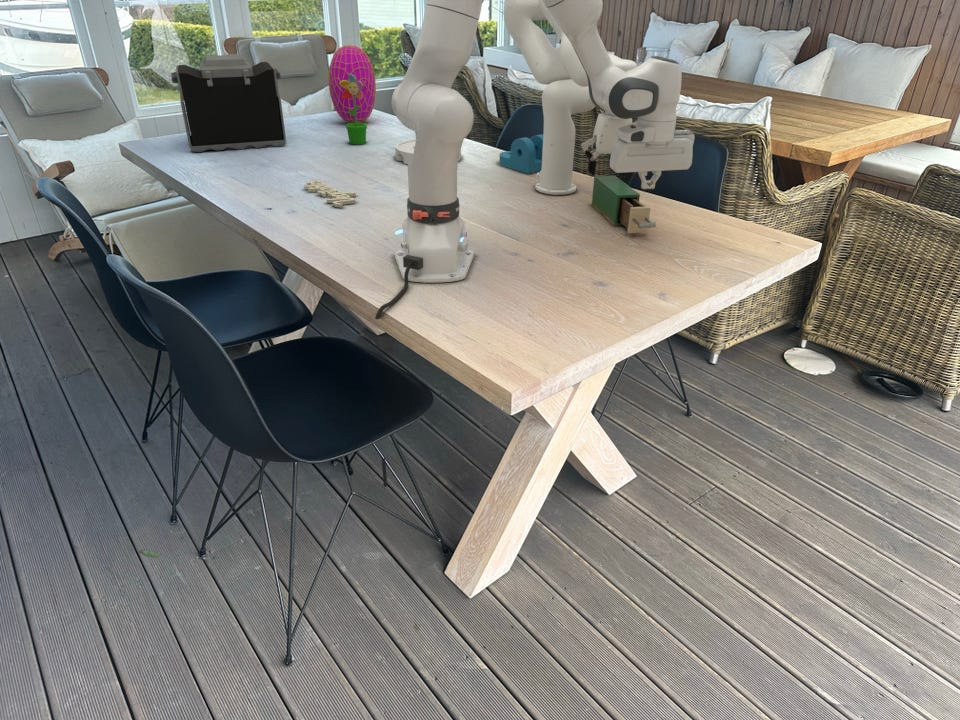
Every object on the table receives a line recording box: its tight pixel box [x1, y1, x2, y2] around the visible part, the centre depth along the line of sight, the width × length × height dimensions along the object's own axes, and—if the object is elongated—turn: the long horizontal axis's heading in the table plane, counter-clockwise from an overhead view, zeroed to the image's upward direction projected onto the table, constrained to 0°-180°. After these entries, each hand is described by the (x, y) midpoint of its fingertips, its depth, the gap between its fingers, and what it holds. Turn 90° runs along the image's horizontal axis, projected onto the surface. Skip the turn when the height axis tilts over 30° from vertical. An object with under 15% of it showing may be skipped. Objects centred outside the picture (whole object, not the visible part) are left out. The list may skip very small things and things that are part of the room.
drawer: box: [618, 197, 657, 234], centre depth 181 cm, size 22×5×7 cm, turn 12°
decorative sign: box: [303, 179, 356, 208], centre depth 205 cm, size 26×1×10 cm
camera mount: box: [498, 133, 543, 175], centre depth 233 cm, size 18×10×10 cm, turn 39°
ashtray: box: [394, 138, 462, 165], centre depth 243 cm, size 23×23×4 cm
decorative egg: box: [328, 44, 377, 124], centre depth 286 cm, size 19×19×30 cm
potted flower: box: [339, 73, 368, 145], centre depth 255 cm, size 9×8×25 cm
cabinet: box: [591, 175, 641, 227], centre depth 191 cm, size 18×6×8 cm, turn 12°
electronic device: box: [170, 53, 287, 153], centre depth 252 cm, size 37×22×30 cm, turn 111°
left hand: (647, 188), depth 170 cm, fingers closed
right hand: (607, 173), depth 192 cm, fingers open, 9 cm apart
